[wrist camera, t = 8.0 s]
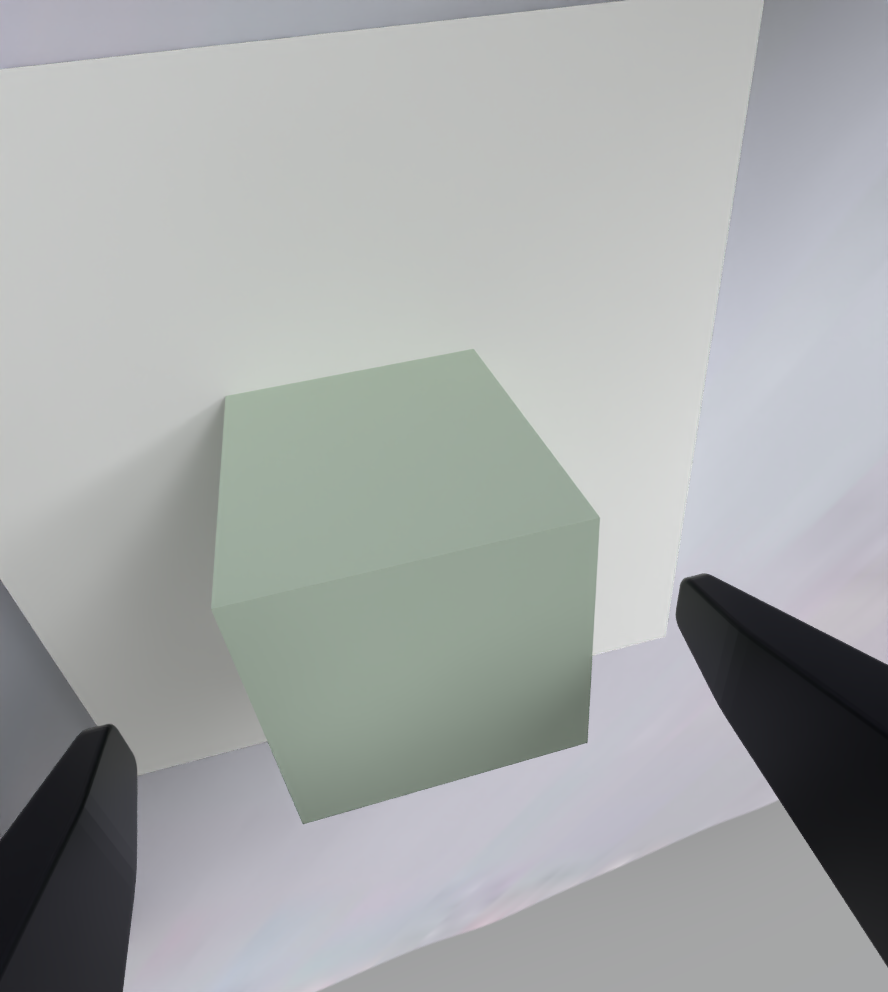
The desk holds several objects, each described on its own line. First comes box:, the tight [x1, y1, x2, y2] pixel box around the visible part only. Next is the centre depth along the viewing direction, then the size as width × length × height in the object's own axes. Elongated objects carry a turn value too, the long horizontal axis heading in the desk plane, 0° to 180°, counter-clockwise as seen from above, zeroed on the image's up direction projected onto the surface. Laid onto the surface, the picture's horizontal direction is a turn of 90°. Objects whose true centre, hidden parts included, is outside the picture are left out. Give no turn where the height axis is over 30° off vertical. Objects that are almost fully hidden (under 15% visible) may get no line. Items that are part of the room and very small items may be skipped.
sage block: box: [211, 349, 600, 824], centre depth 12 cm, size 5×5×6 cm
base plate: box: [0, 0, 764, 776], centre depth 15 cm, size 16×16×2 cm
